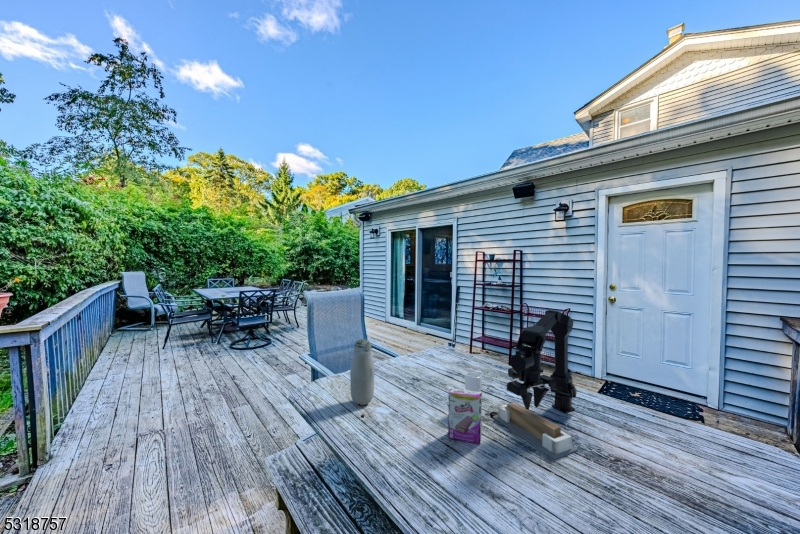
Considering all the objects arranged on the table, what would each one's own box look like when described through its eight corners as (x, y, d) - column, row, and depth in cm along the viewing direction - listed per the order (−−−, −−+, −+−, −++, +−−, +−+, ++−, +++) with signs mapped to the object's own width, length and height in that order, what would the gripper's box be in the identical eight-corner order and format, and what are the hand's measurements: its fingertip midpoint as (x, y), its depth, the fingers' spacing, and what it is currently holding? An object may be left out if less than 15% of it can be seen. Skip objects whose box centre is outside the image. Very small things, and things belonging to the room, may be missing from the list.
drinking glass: (481, 415, 122) (482, 378, 122) (464, 413, 123) (464, 377, 123) (480, 407, 129) (481, 372, 128) (464, 405, 130) (464, 371, 130)
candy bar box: (447, 439, 106) (447, 392, 105) (450, 431, 110) (450, 386, 110) (480, 445, 102) (481, 397, 102) (481, 437, 107) (482, 391, 107)
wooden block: (513, 417, 119) (513, 402, 119) (560, 444, 101) (560, 426, 101) (506, 419, 118) (507, 404, 118) (553, 447, 100) (553, 429, 100)
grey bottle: (346, 406, 130) (346, 341, 129) (358, 396, 139) (358, 335, 139) (367, 410, 126) (366, 343, 125) (377, 400, 135) (377, 337, 135)
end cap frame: (513, 412, 125) (513, 400, 125) (578, 450, 99) (578, 436, 99) (492, 417, 120) (492, 406, 120) (554, 459, 95) (554, 445, 95)
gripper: (532, 355, 120) (532, 394, 121) (496, 361, 113) (495, 403, 113) (557, 364, 110) (557, 406, 110) (518, 371, 103) (518, 417, 103)
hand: (531, 408), depth 109 cm, fingers open, 4 cm apart
